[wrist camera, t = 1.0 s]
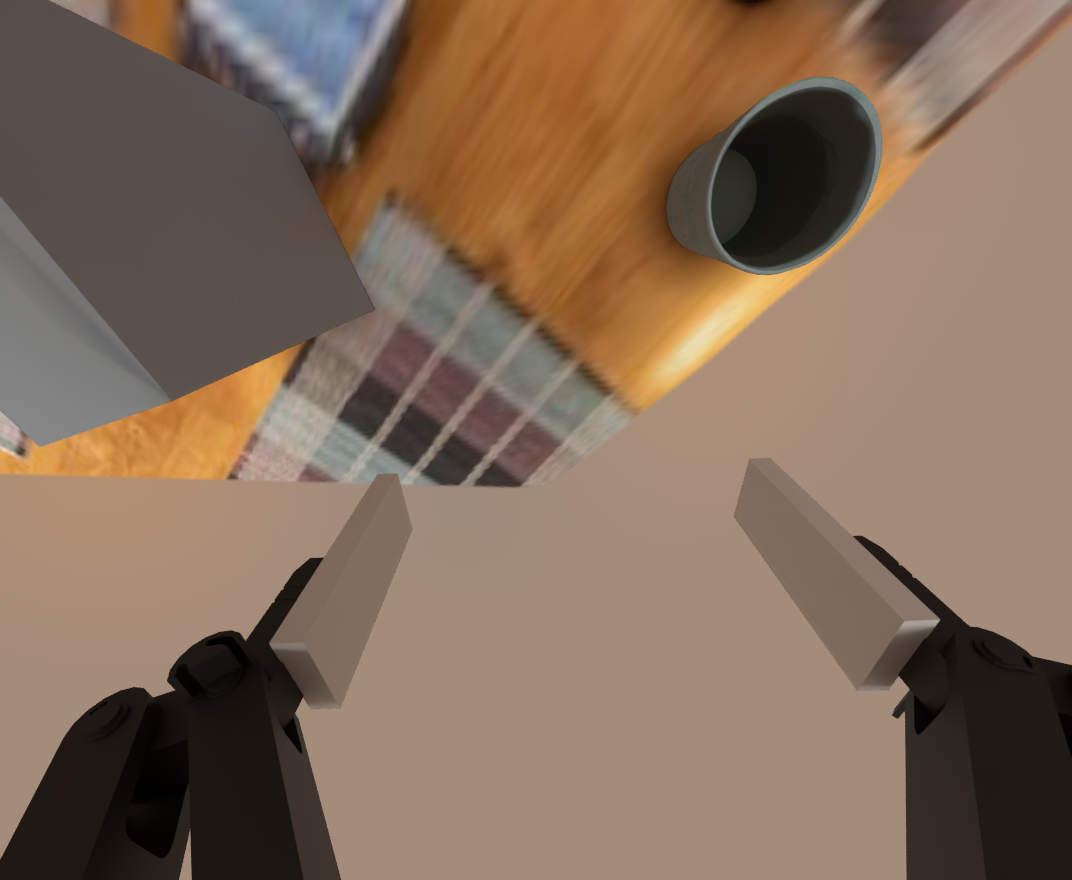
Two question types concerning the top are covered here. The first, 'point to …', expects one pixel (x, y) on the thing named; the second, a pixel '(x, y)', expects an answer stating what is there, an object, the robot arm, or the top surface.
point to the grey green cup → (780, 178)
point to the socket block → (144, 229)
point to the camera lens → (751, 0)
